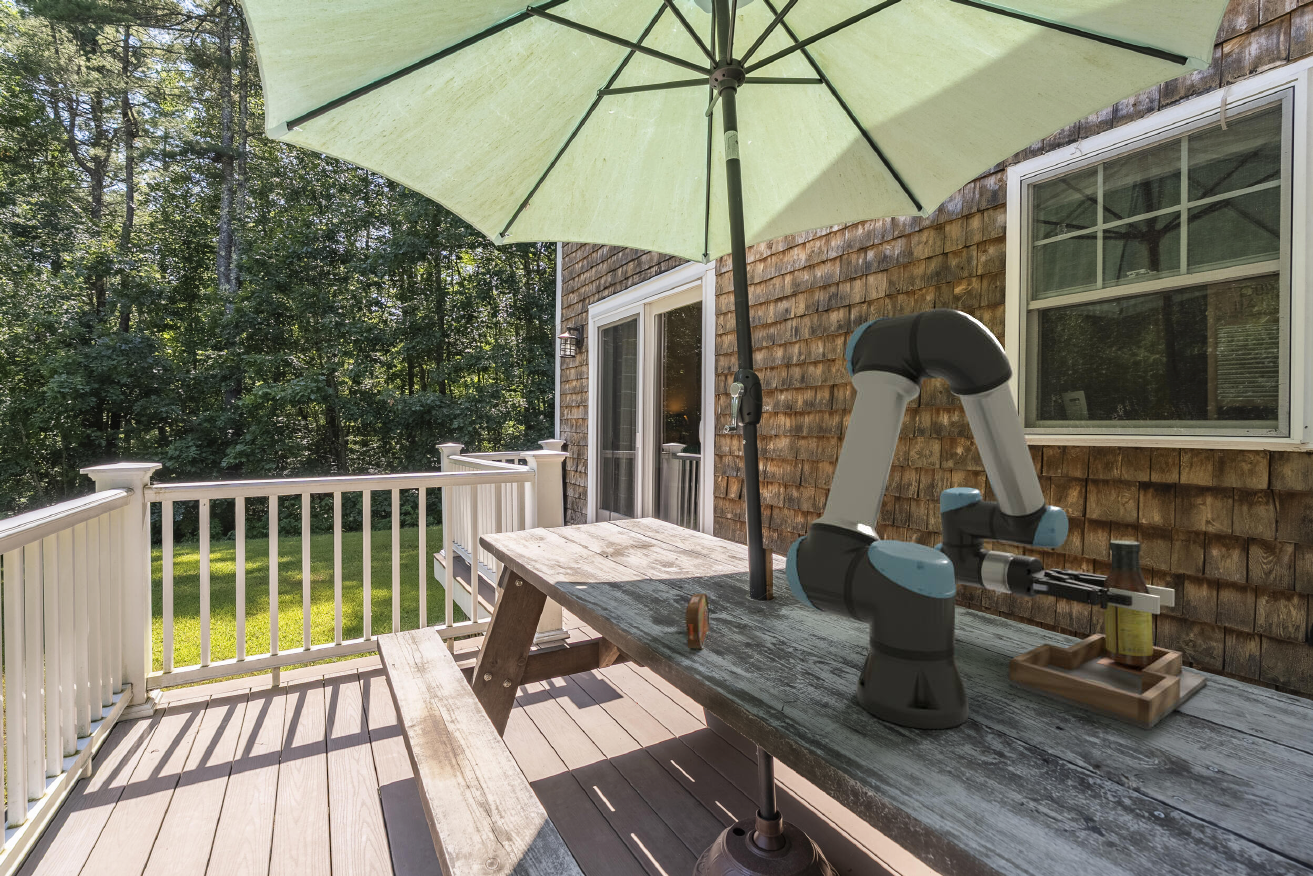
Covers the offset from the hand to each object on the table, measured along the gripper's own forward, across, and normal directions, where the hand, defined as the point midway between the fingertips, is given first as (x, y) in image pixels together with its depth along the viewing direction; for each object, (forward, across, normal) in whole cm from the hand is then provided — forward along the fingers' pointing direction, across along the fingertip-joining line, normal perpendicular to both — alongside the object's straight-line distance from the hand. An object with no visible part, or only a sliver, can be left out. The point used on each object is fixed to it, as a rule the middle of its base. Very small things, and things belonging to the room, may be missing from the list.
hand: (1166, 601), depth 98 cm
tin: (-59, +48, -13) cm, 78 cm away
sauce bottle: (-5, 0, -11) cm, 12 cm away
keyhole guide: (-5, +8, -13) cm, 16 cm away
